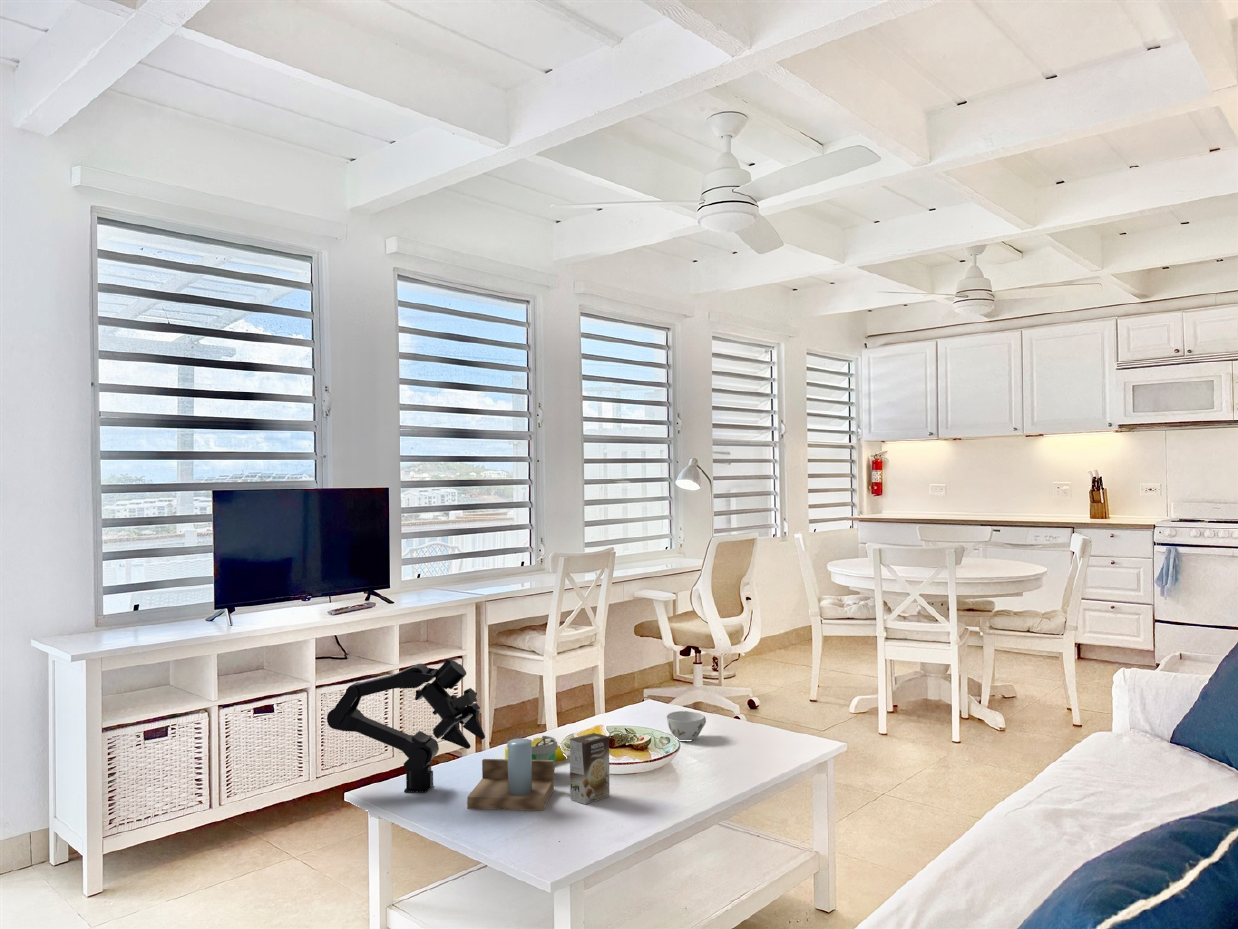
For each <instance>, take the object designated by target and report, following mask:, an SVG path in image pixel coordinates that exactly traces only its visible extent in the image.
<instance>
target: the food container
mask: <svg viewBox="0 0 1238 929" xmlns="http://www.w3.org/2000/svg"><path fill="white" fill-rule="evenodd" d="M541 738H542V740H541V741H540V742H538V743H537V744H536V746H535V747H532V760H554V771H555V768H556V763H555V752H556V750H557V749H558V745H557V742H558V741H557V739H556V738H555V737H553V736H550V735H549V736H547V735H542V736H541Z"/></svg>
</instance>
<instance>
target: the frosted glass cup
mask: <svg viewBox="0 0 1238 929" xmlns="http://www.w3.org/2000/svg"><path fill="white" fill-rule="evenodd" d="M506 747H507V754H508V793H509V794H511V795H515V796H521V795H527V794H529V793H531V792H532V741H531V739H528V738H520V737H519V738H512V739H510V740H507V744H506Z"/></svg>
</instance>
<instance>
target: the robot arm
mask: <svg viewBox="0 0 1238 929" xmlns="http://www.w3.org/2000/svg"><path fill="white" fill-rule="evenodd" d="M466 676H467V671H466V669H465V668H464V666H463V665H462V664H461V663H458V662H457V661H455V660H453V659H452V658H451V657H449V658H447V659H446V660H445V661H444V662H443V663H442V665H441V666H440V667H438V668H433V667H428V666H427V665H426V664H424V663H417V664H414V665H412V666H410V667H408V668H405V669H403V670H401V671H399V672H397V673H393V674H388V675H386V676H385V675H384V676H382V677H376V678H373V679H369V680H365V681H357V682H354V683H353V684H350V685H349V686H347V689H346V691H345V693H344V694H343V695H342V697H341V698H340V699H339V700H338V702H337V704H336V705H335V706H334V708H332V709H330V710H329V711H328V713H327V715H326V723H327V724H328V727H329V728H331V729H333V730H336V731H340V732H341V731H342V732H352V733H353V732H355V733H358V734H361V735H364V736H366V737H367V738H371V739H372V740H375V741H378V742H380V743H383V744H385V745H387V746H390V747H392V748H395V749H397V750H400V751H401V752H402V753H403V754H404V755H405V756H406V757H407V758H408V759H407V760H406V761H405V762H403V767H404V769H405V772H406V773H405V777H406V778H405V780H406V781H405V786H406V788H405V789H404V790H403V792H404V793H427V792H428V791H429V790H430V789H431V788H432V787H433V786H434V771H433V770H432V764H431V763H432V762H433V759H434V758H435V757H436V756H437V754H438V752H439V749H440V747H439V743H438V741H437V740H439V739H440V740H442V741H443V740H444V741H447V742H449V743H452V744H455V745H457V746H458V747H462V748H465V749H466V750H469V749H471V747H472V745H471V744H470V742H469V741H468V740H467V739H468V738H466V737H465V735H464V733H463V732H462V731H461V730H460V725H462V728H463V729H465V730H466V731H468V732H469V733H472V734H473V735H474V736H475V737H477V738H479V739H480V740H482V741H483V740H484V739H485V738H486V735H485V733H484V731H483V727H482V726H481V723H480V720H479V714H480V712H481V711H480V709H481V706H479V704H478V703H477V701H478V699H477V696H478V692H476V691H475V690H474V689H472V688H471V687H469V688H467V689H465V690H464V691H463V694H462V695H460V696H458V697H457V696H456V695H455V694H452V695H451V694H450V693H448V691H447V690H448V689H449V690H453V689H454V688H455V687H456V686H457V685H458V683H460V682H461V680H462V679H464V678H465V677H466ZM432 680H433V681H432ZM431 681H432V682H431ZM425 683H426V684H425ZM424 684H425V685H424ZM422 685H424V686H422ZM421 686H422V688H421V689H419V687H421ZM417 688H418V689H417ZM393 689H394V690H395V689H416V690H415V697H414V700H415V701H418V700H419V701H420V700H421V699H424V700H425V701H426V702H427V703H428V704H429V706H430V707H431V708H432V709H433V711H432V712H431V713H432V715H433V716H436V715H438V716H439V717H440V719H441V720H440V721H439V723H438V724H437V725H435V727H433V730H432V734H433V735H431V734H426V733H424V732H423V731H421V730H419V731H417V732H416V733H415V734H408V733H406V732H403V731H401V730H397V729H396V728H394V727H391V726H389V725H386V724H384V723H381V722H379V721H376V720H373V719H372V718H369V717H367V716H365V714H363V713H362V712H361V710H360V709H359V708H358V707H359V705H360V703H361V699H362V697H365V696H368V695H372V694H376V693H381V692H387V691H390V690H393ZM433 736H434V737H435V738H436V739H435V738H433Z"/></svg>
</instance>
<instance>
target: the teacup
mask: <svg viewBox="0 0 1238 929" xmlns="http://www.w3.org/2000/svg"><path fill="white" fill-rule="evenodd" d="M666 721H667V725H668V730H669V731H670V732H671V734H672V735H673V736H675V737H677V738H678V739H679V740H693V739H694V740H696V739H697V737H698V736H699V735H700V734H701V732H702V730H703V728H704V726H706V723H707V719H706V716H705V715H704V714H702V713H701V712H694V711H689V710H685V711H684V710H679V711H673V712H669V713H668V714H667V715H666ZM675 737H674V738H675ZM694 740H693V741H694Z"/></svg>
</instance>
